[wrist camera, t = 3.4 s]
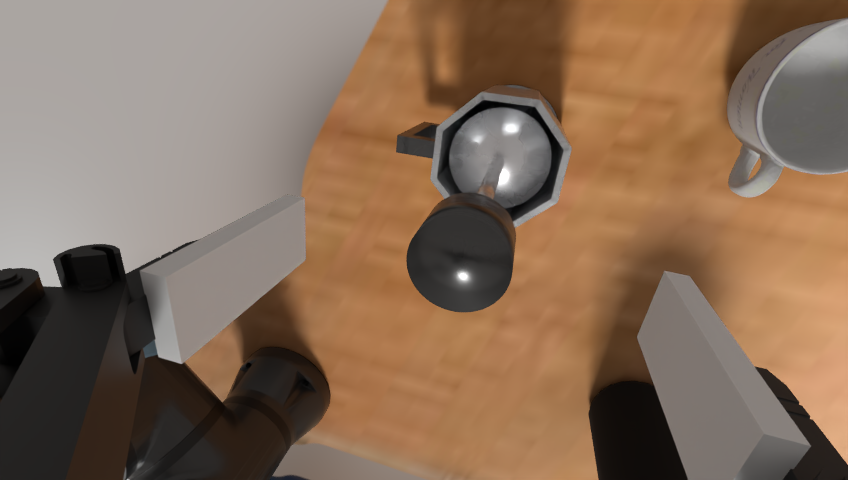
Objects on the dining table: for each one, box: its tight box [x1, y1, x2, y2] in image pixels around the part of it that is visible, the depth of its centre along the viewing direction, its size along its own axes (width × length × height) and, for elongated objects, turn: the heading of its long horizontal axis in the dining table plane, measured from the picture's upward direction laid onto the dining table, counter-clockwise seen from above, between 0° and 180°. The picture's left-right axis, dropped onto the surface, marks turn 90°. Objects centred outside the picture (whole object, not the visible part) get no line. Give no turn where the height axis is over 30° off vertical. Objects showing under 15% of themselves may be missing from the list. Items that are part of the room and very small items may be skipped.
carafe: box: [396, 85, 572, 228], centre depth 37 cm, size 14×10×13 cm
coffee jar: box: [589, 381, 688, 480], centre depth 43 cm, size 11×11×18 cm
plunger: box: [407, 107, 551, 312], centre depth 24 cm, size 8×8×20 cm
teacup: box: [727, 18, 848, 197], centre depth 32 cm, size 14×11×8 cm
